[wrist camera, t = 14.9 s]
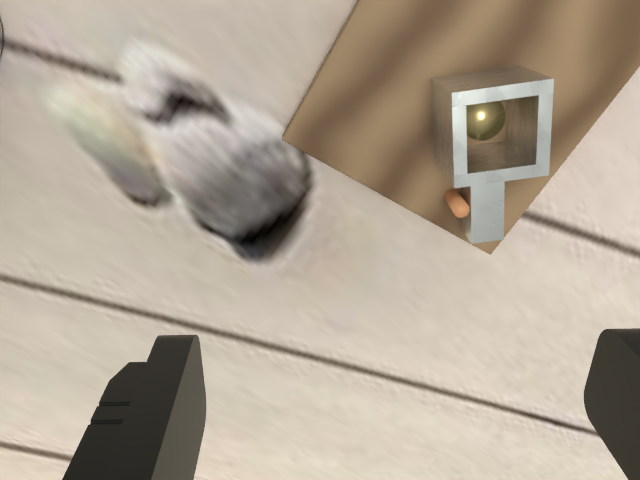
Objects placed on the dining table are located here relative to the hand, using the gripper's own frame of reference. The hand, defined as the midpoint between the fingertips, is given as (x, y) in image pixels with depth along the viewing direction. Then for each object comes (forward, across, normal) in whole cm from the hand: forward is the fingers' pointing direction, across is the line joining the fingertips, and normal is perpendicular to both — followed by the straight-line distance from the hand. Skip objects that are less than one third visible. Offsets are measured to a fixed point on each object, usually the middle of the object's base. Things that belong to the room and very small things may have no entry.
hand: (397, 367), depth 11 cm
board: (+33, -11, -1) cm, 35 cm away
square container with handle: (+32, -12, +5) cm, 34 cm away
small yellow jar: (+32, -11, +1) cm, 33 cm away
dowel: (+32, -10, +9) cm, 34 cm away
